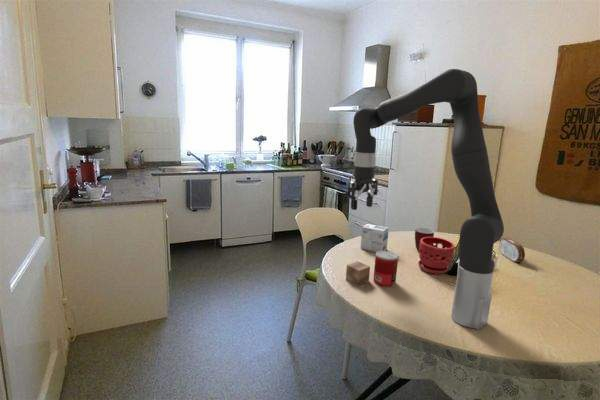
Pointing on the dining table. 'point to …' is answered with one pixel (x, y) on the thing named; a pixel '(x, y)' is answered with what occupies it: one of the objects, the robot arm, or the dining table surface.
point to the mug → (422, 235)
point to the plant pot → (435, 255)
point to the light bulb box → (374, 238)
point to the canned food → (385, 268)
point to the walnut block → (357, 273)
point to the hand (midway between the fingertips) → (361, 207)
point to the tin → (512, 249)
